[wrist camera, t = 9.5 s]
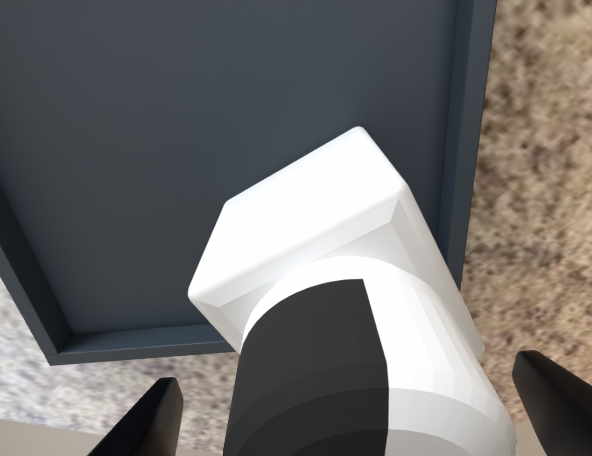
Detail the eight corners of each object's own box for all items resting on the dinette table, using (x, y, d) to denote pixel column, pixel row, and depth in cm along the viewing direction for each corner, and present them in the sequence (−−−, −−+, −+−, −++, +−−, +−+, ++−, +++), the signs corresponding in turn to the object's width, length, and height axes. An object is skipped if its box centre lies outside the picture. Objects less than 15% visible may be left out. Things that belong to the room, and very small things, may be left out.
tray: (440, 309, 21) (455, 335, 19) (71, 338, 22) (49, 366, 20) (522, -496, 9) (579, -632, 7) (-280, -359, 10) (-410, -449, 8)
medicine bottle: (300, 305, 20) (305, 613, 9) (222, 201, 17) (101, 469, 6) (423, 247, 18) (605, 540, 8) (360, 121, 15) (505, 303, 5)
